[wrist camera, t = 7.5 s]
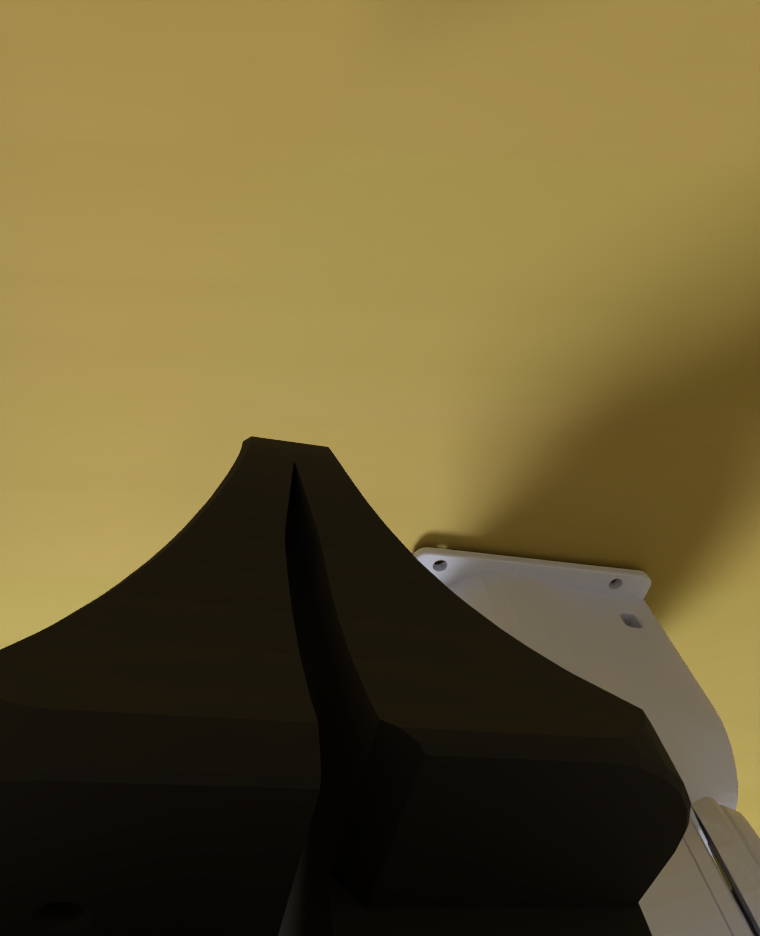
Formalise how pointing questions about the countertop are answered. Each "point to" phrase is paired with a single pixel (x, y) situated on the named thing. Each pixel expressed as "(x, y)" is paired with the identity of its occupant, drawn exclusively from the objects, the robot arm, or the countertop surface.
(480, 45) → the countertop surface
